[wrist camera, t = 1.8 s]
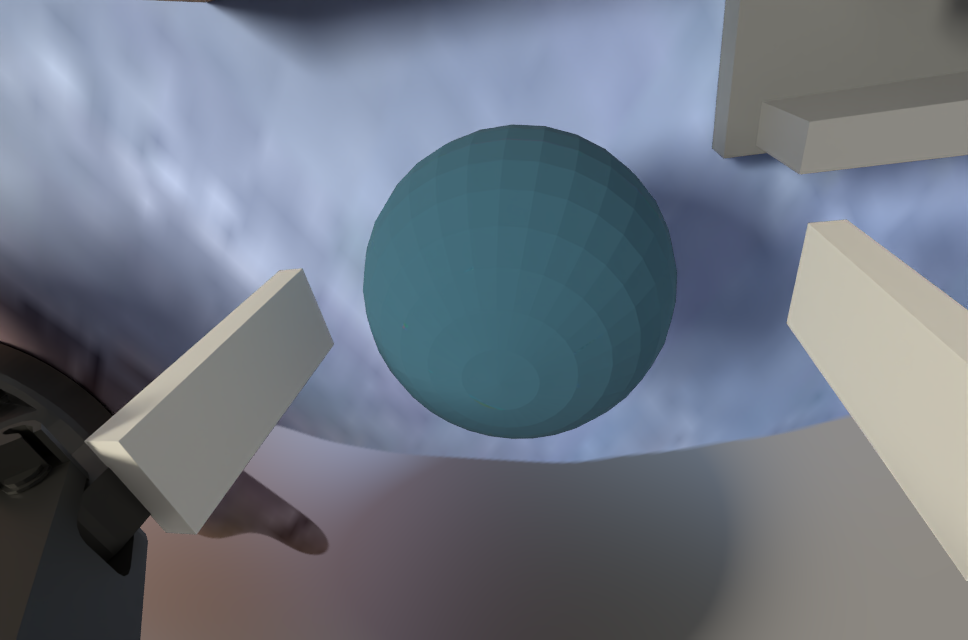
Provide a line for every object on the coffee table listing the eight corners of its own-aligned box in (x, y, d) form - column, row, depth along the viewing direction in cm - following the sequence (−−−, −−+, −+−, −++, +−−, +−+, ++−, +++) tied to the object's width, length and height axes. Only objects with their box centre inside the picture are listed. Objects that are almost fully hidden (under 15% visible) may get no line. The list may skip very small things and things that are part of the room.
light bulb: (593, 40, 16) (643, 79, 6) (659, 243, 20) (758, 472, 10) (397, 146, 19) (220, 287, 9) (487, 306, 23) (430, 530, 13)
